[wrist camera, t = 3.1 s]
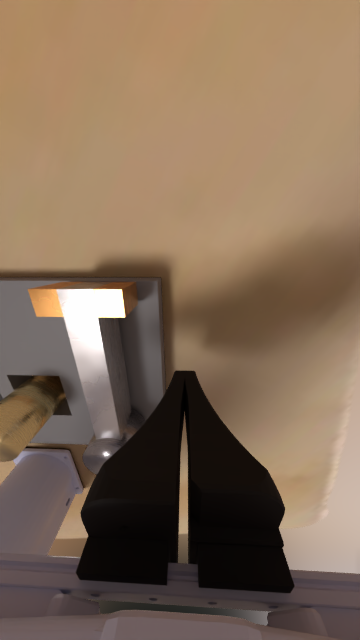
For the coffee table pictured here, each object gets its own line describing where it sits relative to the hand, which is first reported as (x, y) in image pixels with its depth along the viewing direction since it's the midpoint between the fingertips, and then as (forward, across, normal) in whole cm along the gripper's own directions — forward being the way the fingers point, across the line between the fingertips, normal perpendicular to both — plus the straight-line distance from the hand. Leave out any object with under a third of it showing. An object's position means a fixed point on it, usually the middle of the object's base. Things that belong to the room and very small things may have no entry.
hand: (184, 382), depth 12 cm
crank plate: (+5, +10, +3) cm, 12 cm away
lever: (+3, +6, +2) cm, 7 cm away
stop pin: (+5, +14, +5) cm, 16 cm away
